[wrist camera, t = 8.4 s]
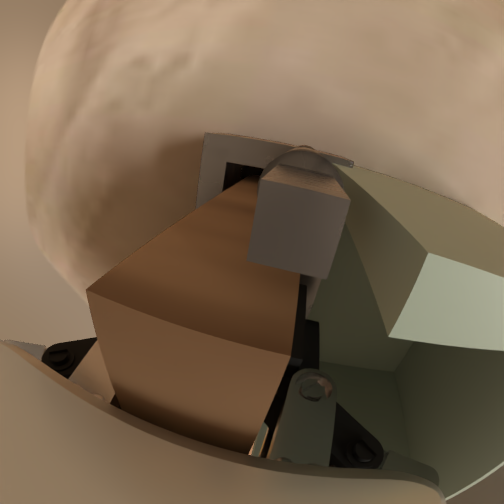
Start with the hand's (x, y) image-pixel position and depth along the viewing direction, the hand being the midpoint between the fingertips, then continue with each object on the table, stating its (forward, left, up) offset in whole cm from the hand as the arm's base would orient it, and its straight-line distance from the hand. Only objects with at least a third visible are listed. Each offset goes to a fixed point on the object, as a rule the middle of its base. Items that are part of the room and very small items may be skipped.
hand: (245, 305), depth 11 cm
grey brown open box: (0, 0, -4) cm, 4 cm away
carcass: (0, +6, -4) cm, 8 cm away
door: (0, 0, -3) cm, 3 cm away
